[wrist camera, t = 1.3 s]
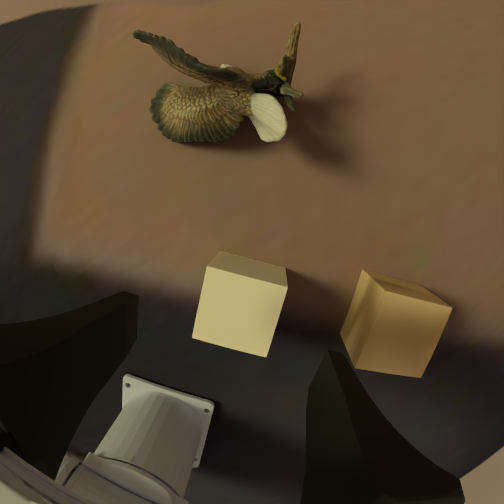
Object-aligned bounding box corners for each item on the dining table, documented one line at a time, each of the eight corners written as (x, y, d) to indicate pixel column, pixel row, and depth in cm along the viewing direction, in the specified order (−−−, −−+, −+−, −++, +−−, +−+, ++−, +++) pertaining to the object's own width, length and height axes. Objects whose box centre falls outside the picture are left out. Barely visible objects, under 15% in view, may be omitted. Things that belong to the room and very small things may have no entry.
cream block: (267, 326, 22) (266, 357, 18) (206, 310, 22) (191, 337, 18) (285, 267, 21) (287, 287, 17) (220, 250, 21) (207, 266, 17)
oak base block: (396, 344, 22) (420, 377, 17) (339, 333, 22) (354, 368, 17) (420, 284, 21) (452, 307, 16) (361, 268, 21) (385, 290, 16)
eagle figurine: (285, 20, 17) (141, 24, 16) (320, 26, 11) (107, 33, 10) (277, 123, 22) (149, 129, 21) (303, 172, 17) (128, 181, 16)
